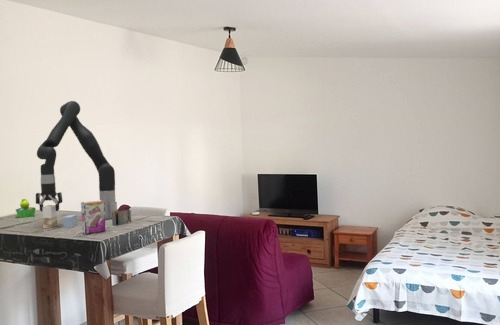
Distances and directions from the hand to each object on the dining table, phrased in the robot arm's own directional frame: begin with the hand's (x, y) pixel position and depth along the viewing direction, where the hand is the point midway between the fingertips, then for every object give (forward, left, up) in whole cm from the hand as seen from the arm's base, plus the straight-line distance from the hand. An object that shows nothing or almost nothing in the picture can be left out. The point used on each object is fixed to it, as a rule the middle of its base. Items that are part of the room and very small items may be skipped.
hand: (49, 211), depth 278 cm
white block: (0, 0, -3) cm, 3 cm away
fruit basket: (+33, -38, -9) cm, 51 cm away
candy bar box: (-31, +17, -9) cm, 37 cm away
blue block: (-11, -1, -9) cm, 14 cm away
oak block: (0, 0, -9) cm, 9 cm away
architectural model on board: (-39, -6, -10) cm, 41 cm away
